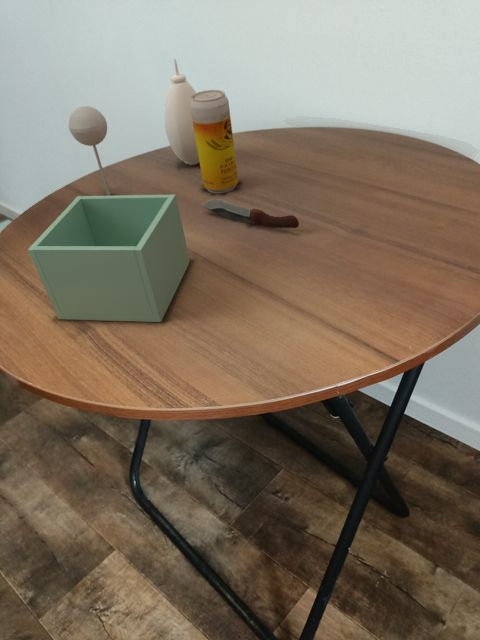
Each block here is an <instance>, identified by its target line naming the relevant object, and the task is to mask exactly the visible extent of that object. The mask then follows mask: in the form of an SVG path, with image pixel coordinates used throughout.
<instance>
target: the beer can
mask: <svg viewBox="0 0 480 640" xmlns="http://www.w3.org/2000/svg"><path fill="white" fill-rule="evenodd" d="M190 109H191V115H192V121H193V127H194V133H195V138H196V144H197V150H198V156H199V162H198V163H199V167H200V172H201V179H202V185H203V187H204V188H205V189H206V190H207V191H208V192H209V193H212V194H224V193H228V192H231V191H233V190H234V189H235V188H236V186H237V184H238V183H239V175H238V168H237V167H238V166H237V160H236V159H237V158H236V152H235V151H236V150H235V143H234V135H233V127H232V126H233V125H232V119H231V112H230V111H231V110H230V103H229V99H228V97H227V96H226V92H225V91H223V90H220V89H208V90H207V89H206V90H202V91H198V92H196V93H195V94H193V95H192V96H191V102H190Z"/></svg>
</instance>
